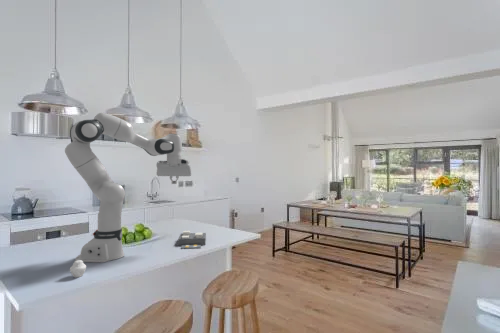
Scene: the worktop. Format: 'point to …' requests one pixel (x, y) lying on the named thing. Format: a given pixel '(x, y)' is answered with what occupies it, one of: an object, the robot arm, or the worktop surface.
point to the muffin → (78, 268)
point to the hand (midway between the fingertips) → (174, 183)
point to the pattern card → (190, 246)
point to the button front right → (198, 235)
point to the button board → (192, 240)
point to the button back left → (186, 233)
